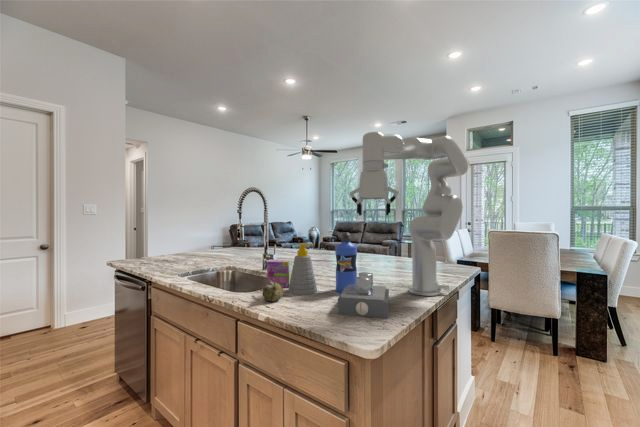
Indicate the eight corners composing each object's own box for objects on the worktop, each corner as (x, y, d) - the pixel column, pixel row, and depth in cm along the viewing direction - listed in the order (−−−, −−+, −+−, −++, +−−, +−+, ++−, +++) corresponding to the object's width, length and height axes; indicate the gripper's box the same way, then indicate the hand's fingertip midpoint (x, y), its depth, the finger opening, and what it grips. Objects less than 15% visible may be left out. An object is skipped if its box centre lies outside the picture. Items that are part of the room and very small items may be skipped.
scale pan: (385, 289, 105) (385, 286, 105) (384, 300, 92) (384, 297, 92) (348, 287, 109) (348, 284, 109) (341, 297, 95) (341, 294, 95)
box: (267, 287, 130) (266, 261, 130) (271, 284, 136) (271, 259, 136) (289, 288, 128) (288, 261, 128) (292, 284, 134) (292, 259, 134)
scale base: (388, 302, 106) (388, 289, 106) (387, 318, 90) (387, 302, 90) (345, 299, 110) (345, 286, 110) (337, 314, 94) (337, 299, 94)
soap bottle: (313, 296, 116) (313, 245, 116) (284, 294, 118) (283, 244, 118) (320, 288, 128) (319, 242, 128) (293, 286, 130) (292, 241, 130)
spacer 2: (371, 291, 98) (371, 277, 98) (370, 295, 93) (370, 280, 93) (357, 290, 99) (357, 276, 99) (355, 294, 95) (355, 279, 95)
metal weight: (373, 286, 105) (373, 272, 105) (372, 289, 101) (372, 275, 101) (359, 285, 107) (359, 272, 107) (358, 288, 102) (357, 274, 102)
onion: (286, 301, 109) (286, 280, 109) (266, 304, 105) (265, 282, 105) (279, 296, 115) (279, 276, 115) (260, 299, 112) (259, 278, 112)
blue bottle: (356, 294, 117) (355, 233, 117) (333, 292, 120) (333, 232, 120) (358, 288, 127) (358, 231, 127) (337, 287, 129) (337, 231, 129)
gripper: (398, 168, 105) (398, 215, 105) (350, 170, 109) (351, 215, 109) (398, 164, 98) (398, 215, 98) (347, 167, 102) (348, 215, 102)
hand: (373, 215), depth 103 cm, fingers open, 9 cm apart
